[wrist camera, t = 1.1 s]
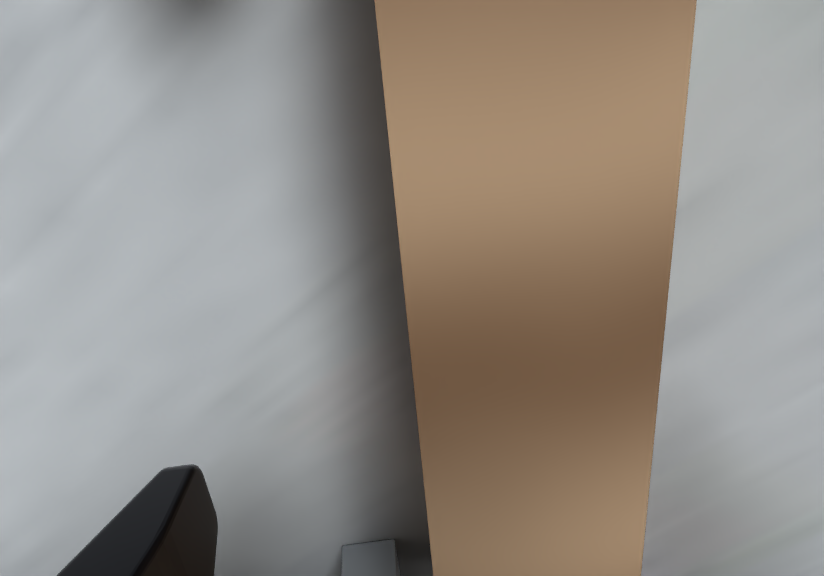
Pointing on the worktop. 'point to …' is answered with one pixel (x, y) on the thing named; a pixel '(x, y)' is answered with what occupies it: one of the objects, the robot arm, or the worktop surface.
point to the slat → (536, 267)
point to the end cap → (370, 559)
